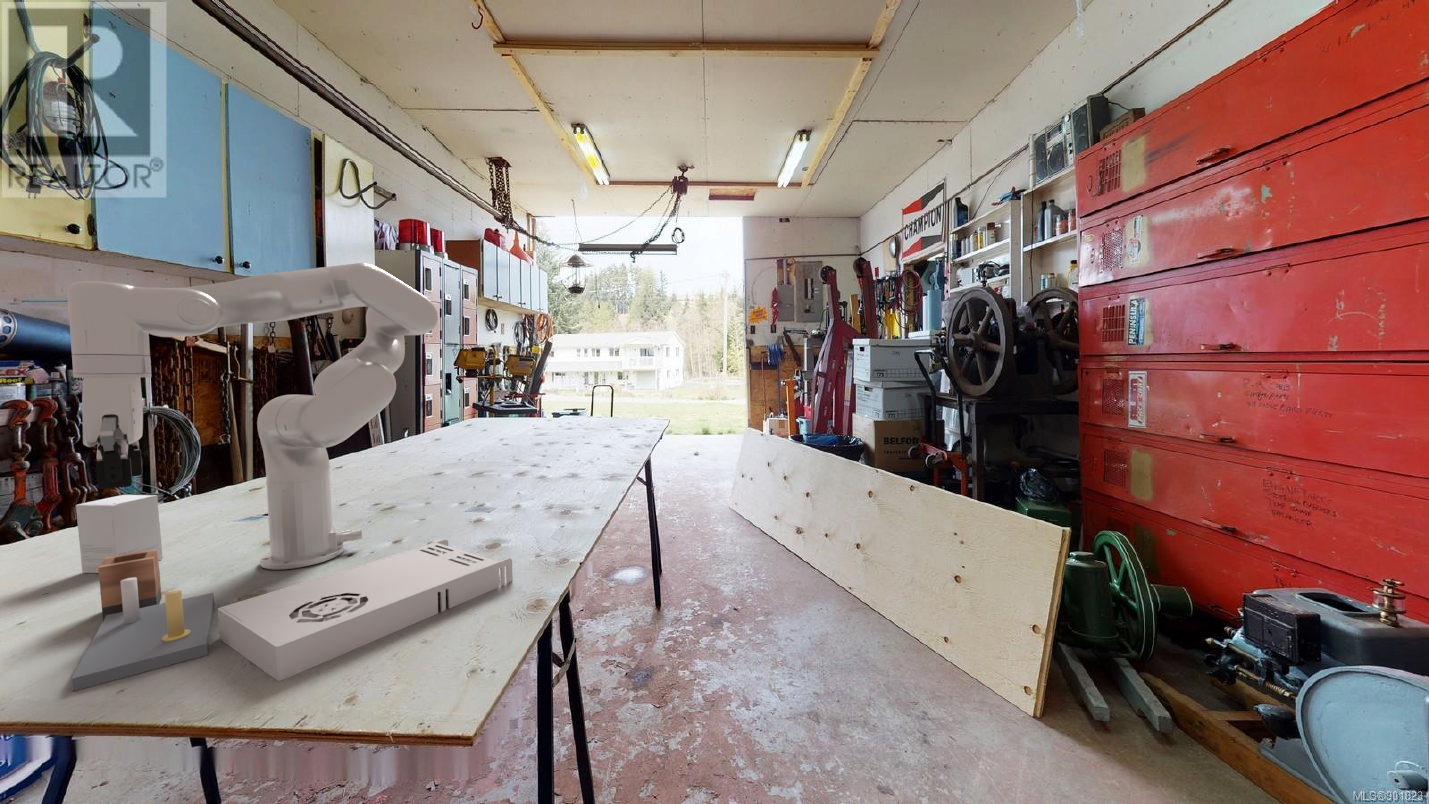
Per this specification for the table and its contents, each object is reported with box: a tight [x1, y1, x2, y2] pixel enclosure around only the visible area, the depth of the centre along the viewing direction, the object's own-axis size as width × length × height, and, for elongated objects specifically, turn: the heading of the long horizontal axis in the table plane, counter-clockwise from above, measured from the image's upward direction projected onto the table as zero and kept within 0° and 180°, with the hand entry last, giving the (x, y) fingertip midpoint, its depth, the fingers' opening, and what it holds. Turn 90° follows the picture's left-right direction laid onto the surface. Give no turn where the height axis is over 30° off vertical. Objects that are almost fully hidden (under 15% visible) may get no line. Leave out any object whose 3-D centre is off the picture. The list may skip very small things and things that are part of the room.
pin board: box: [71, 577, 215, 692], centre depth 70 cm, size 11×20×8 cm, turn 42°
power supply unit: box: [217, 539, 514, 682], centre depth 80 cm, size 19×33×5 cm, turn 150°
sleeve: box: [98, 549, 162, 621], centre depth 78 cm, size 5×5×8 cm
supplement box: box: [75, 494, 164, 574], centre depth 95 cm, size 7×7×13 cm
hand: (121, 481), depth 77 cm, fingers open, 9 cm apart
